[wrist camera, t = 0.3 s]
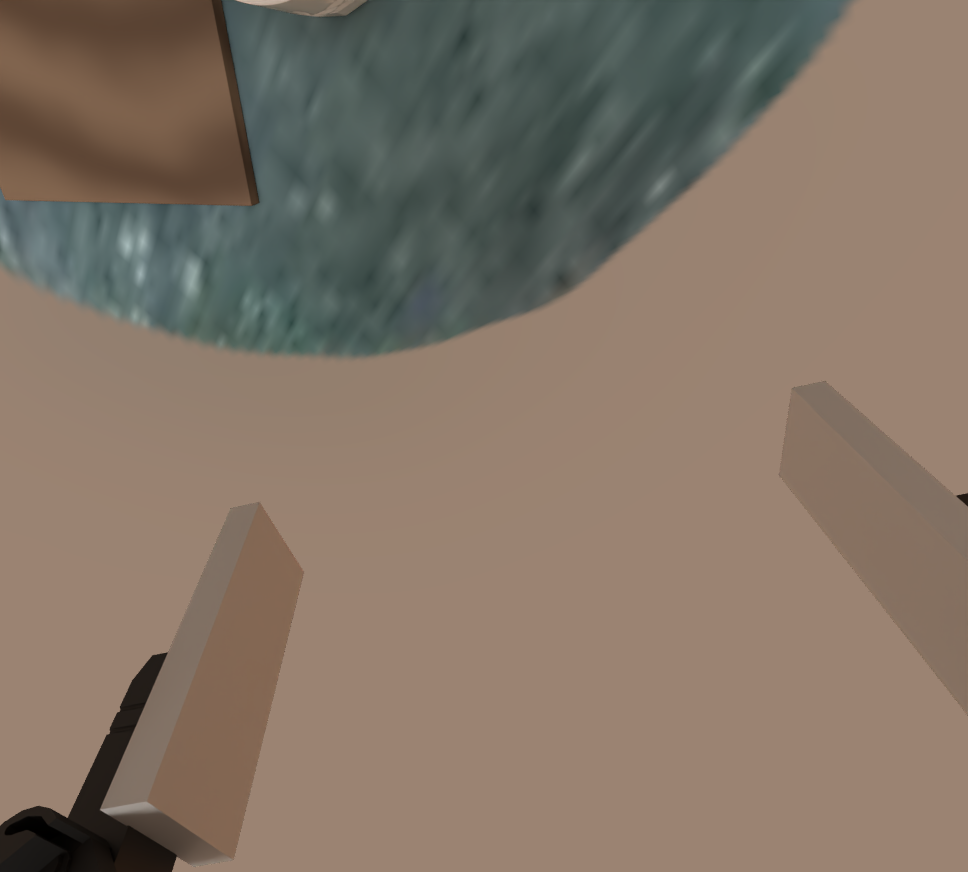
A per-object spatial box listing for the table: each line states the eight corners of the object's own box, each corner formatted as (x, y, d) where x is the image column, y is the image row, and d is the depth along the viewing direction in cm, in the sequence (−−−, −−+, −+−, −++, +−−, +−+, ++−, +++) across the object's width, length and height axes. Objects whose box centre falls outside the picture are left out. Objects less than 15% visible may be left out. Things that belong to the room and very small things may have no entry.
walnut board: (-166, -266, 26) (-194, -281, 24) (170, -268, 25) (156, -284, 24) (20, 197, 36) (5, 199, 35) (259, 202, 36) (251, 205, 34)
